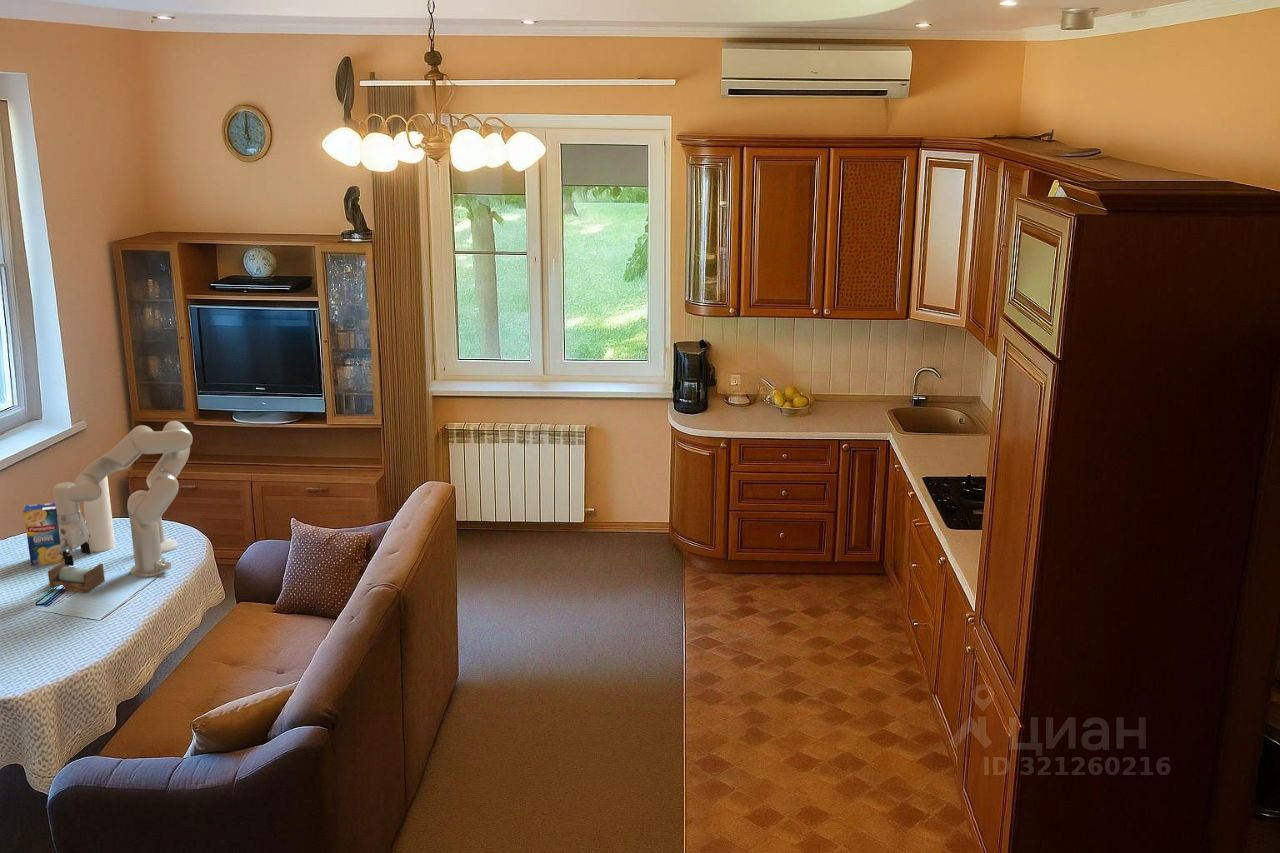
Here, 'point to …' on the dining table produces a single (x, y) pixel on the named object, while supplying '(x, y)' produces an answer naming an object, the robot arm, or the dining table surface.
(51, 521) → the beverage box
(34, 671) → the dining table surface
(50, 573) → the holder
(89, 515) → the cylinder container
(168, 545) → the candlestick
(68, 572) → the roll
